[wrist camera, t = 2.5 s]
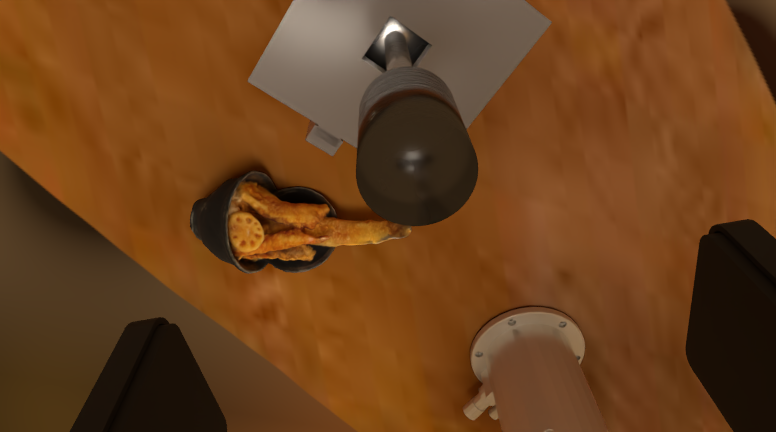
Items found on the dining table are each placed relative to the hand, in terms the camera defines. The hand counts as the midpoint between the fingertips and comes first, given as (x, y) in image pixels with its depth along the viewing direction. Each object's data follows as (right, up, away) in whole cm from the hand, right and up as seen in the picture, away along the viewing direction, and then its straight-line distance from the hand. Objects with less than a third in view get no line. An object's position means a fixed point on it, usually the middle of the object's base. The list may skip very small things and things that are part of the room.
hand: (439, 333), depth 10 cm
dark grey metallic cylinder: (-1, +12, +21) cm, 24 cm away
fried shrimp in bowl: (-9, +3, +43) cm, 44 cm away
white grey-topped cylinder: (-2, +18, +33) cm, 38 cm away
